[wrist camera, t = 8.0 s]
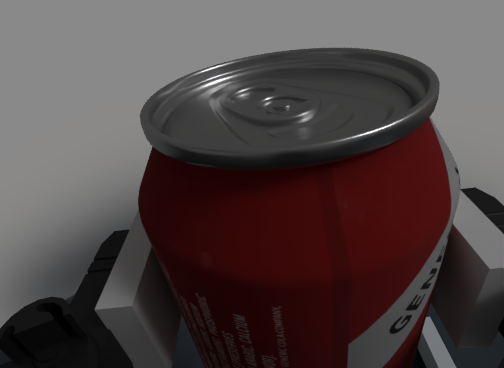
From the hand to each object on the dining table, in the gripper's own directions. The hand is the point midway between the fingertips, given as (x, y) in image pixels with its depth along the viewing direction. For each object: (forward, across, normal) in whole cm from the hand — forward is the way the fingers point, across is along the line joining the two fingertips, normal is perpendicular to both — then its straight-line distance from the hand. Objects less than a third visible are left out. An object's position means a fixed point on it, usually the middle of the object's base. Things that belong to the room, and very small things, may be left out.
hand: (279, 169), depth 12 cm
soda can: (-4, 0, -8) cm, 9 cm away
